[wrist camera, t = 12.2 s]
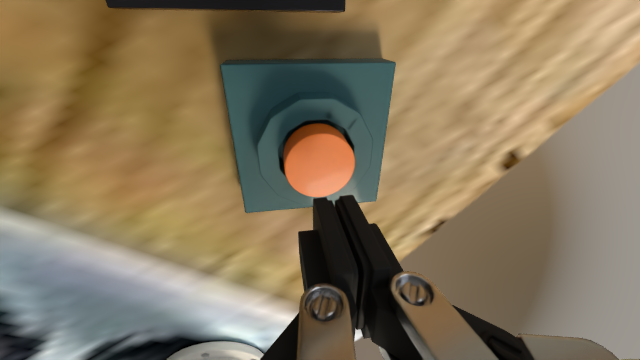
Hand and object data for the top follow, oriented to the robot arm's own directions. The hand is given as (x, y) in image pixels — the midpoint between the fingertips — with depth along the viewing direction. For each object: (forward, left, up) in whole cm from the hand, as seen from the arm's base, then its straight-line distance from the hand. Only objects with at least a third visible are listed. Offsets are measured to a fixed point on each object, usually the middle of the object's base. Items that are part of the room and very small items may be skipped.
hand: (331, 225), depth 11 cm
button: (+1, 0, -6) cm, 6 cm away
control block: (+1, 0, -10) cm, 10 cm away
